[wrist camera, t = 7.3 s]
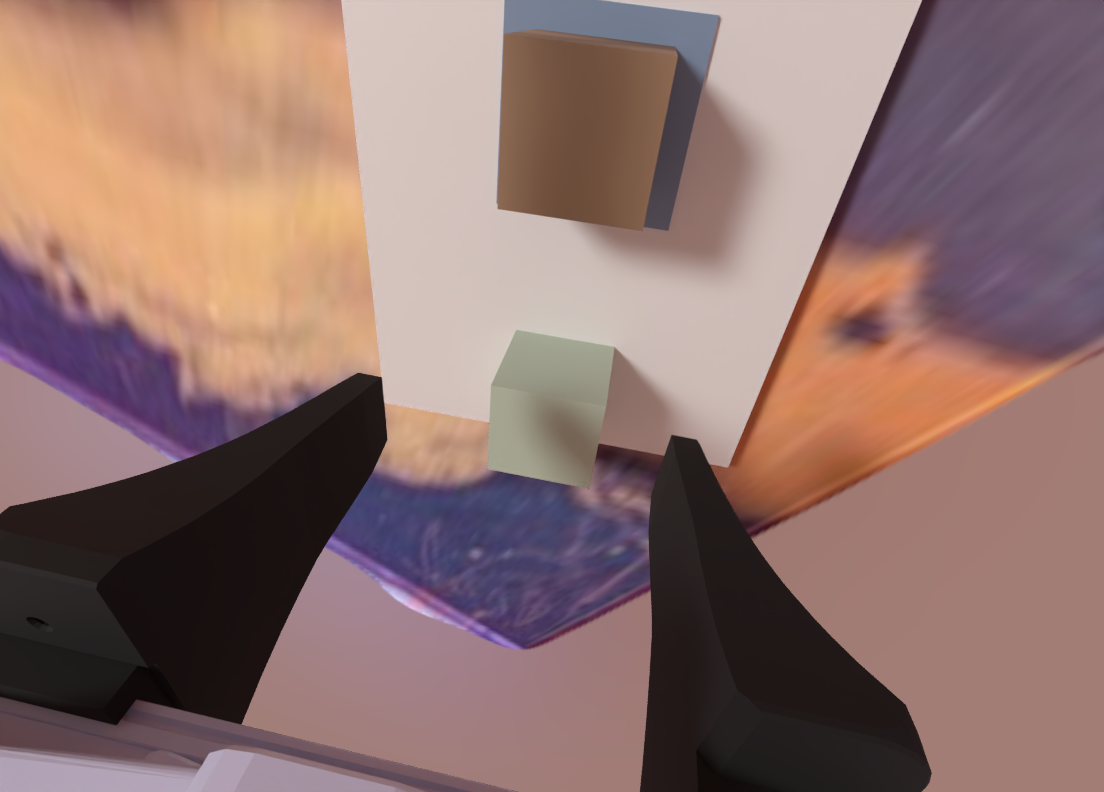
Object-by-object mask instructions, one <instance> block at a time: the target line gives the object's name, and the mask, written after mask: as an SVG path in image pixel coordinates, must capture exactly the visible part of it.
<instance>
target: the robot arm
mask: <svg viewBox="0 0 1104 792" xmlns="http://www.w3.org/2000/svg"><path fill="white" fill-rule="evenodd" d="M386 442H387V430H386V418H385V406H384V395H383V383H382V377H377V376H372V375H367V374H362V373H357V374H355V375H353V376H351V377H350V378H348V379H346V380H344V381H342V382H341V383H339V384H337V385H336V386H334V387H332V388H330V389H329V390H327V391H325V392H323V393H322V394H320V395H318V396H317V397H315V398H313V399H311V400H309V401H308V402H306V403H304V404H302V405H301V406H299V407H297V408H295V409H294V410H292V411H290V412H288V413H286V414H284V415H282V416H281V417H279V418H277V419H275V420H273V421H271V422H269V423H267V424H265V425H263V426H261V427H259V428H257V429H255V430H253V431H251V432H249V433H247V434H245V435H243V436H241V437H239V438H236V439H234V440H232V441H230V442H227V443H225V444H223V445H220V446H218V447H215V448H213V449H211V450H208V451H206V452H203V453H201V454H198V455H196V456H193V457H190V458H187V459H184V460H182V461H179V462H176V463H173V464H170V465H168V466H165V467H161V468H159V469H156V470H153V471H150V472H147V473H144V474H140V475H137V476H134V477H130V478H127V479H124V480H120V481H117V482H113V483H109V484H106V485H102V486H98V487H95V488H91V489H87V490H83V491H79V492H75V493H70V494H66V495H61V496H56V497H52V498H47V499H43V500H38V501H34V502H29V503H25V504H20V505H15V506H10V507H8V508H7V509H6V510H5V511H3V512H2V513H1V514H0V792H517V791H513V790H508V789H504V788H500V787H496V786H492V785H488V784H484V783H480V782H476V781H471V780H467V779H463V778H459V777H455V776H451V775H447V774H443V773H438V772H434V771H430V770H426V769H422V768H418V767H414V766H409V765H405V764H401V763H397V762H393V761H389V760H384V759H380V758H376V757H372V756H368V755H364V754H360V753H356V752H352V751H348V750H343V749H339V748H335V747H331V746H327V745H323V744H319V743H314V742H310V741H306V740H302V739H298V738H294V737H290V736H286V735H282V734H277V733H273V732H269V731H265V730H261V729H257V728H253V727H248V726H244V725H241V724H242V722H243V719H244V717H245V714H246V712H247V710H248V707H249V705H250V702H251V700H252V697H253V695H254V692H255V690H256V688H257V685H258V683H259V680H260V678H261V676H262V673H263V671H264V669H265V667H266V664H267V662H268V660H269V658H270V655H271V653H272V651H273V649H274V646H275V644H276V642H277V640H278V637H279V635H280V633H281V631H282V629H283V627H284V625H285V623H286V620H287V618H288V616H289V614H290V612H291V610H292V608H293V606H294V604H295V602H296V600H297V597H298V595H299V593H300V591H301V589H302V588H303V586H304V584H305V582H306V580H307V577H308V576H309V574H310V572H311V570H312V568H313V566H314V564H315V562H316V560H317V558H318V557H319V555H320V553H321V552H322V550H323V548H324V547H325V545H326V543H327V542H328V540H329V539H330V537H331V536H332V534H333V533H334V531H335V530H336V528H337V526H338V525H339V523H340V522H341V520H342V519H343V517H344V516H345V514H346V513H347V511H348V510H349V508H350V507H351V505H352V503H353V502H354V500H355V499H356V497H357V496H358V494H359V493H360V491H361V490H362V488H363V486H364V485H365V483H366V482H367V480H368V478H369V477H370V475H371V474H372V472H373V470H374V468H375V465H376V463H377V461H378V459H379V457H380V455H381V453H382V450H383V448H384V446H385V444H386ZM649 558H650V582H651V605H652V642H651V661H650V676H649V691H648V705H647V718H646V731H645V742H644V755H643V767H642V776H641V787H640V792H922V791H923V790H924V789H925V788H926V786H927V785H928V784H929V781H930V777H931V769H930V767H929V764H928V761H927V758H926V755H925V753H924V750H923V746H922V743H921V741H920V738H919V735H918V732H917V730H916V727H915V725H914V723H913V721H912V719H911V716H910V714H909V712H908V709H907V707H906V705H905V704H904V703H903V702H902V701H901V700H900V699H898V698H897V697H896V696H895V695H894V694H893V693H891V691H889V690H888V689H887V688H886V687H885V686H884V685H883V684H881V683H880V682H879V681H878V680H877V679H876V678H875V677H874V676H872V675H871V674H870V673H869V672H868V671H867V670H865V668H863V667H862V666H861V665H860V664H859V663H858V662H857V661H856V660H855V659H854V658H853V657H852V656H850V654H849V653H847V651H845V650H844V648H842V647H841V646H840V645H839V644H838V643H837V642H836V641H835V640H834V639H833V638H832V637H831V636H830V635H829V634H828V633H827V632H826V630H825V629H823V627H822V626H821V625H820V624H819V623H818V622H817V621H816V620H815V619H814V618H813V617H812V616H811V615H810V613H809V612H808V611H807V610H806V609H805V608H804V606H803V605H802V604H801V603H800V602H799V601H798V600H797V599H796V597H795V596H794V595H793V594H792V593H791V592H790V590H789V589H788V588H787V587H786V586H785V584H783V582H782V581H781V580H780V578H779V577H778V576H777V575H776V573H775V572H774V570H773V569H772V568H771V567H770V565H769V564H768V562H767V561H766V560H765V558H764V557H763V556H762V554H761V553H760V551H759V550H758V548H757V547H756V545H755V544H754V542H753V541H752V539H751V538H750V536H749V535H748V533H747V532H746V530H745V528H744V527H743V525H742V524H741V522H740V520H739V519H738V517H737V515H736V514H735V512H734V510H733V508H732V507H731V505H730V503H729V501H728V499H727V498H726V496H725V494H724V492H723V490H722V488H721V487H720V485H719V483H718V481H717V479H716V477H715V475H714V473H713V471H712V469H711V467H710V465H709V463H708V461H707V458H706V456H705V454H704V452H703V450H702V448H701V445H700V444H699V442H698V441H697V440H696V439H691V438H686V437H681V436H676V435H671V437H670V440H669V443H668V446H667V449H666V452H665V455H664V458H663V461H662V464H661V467H660V470H659V473H658V476H657V479H656V482H655V485H654V488H653V491H652V495H651V507H650V519H649Z"/></svg>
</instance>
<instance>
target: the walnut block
mask: <svg viewBox="0 0 1104 792" xmlns="http://www.w3.org/2000/svg"><path fill="white" fill-rule="evenodd" d="M677 59H678V54H677V52H676V49H675V47H674V46H666V45H658V44H650V43H642V42H634V41H626V40H619V39H611V38H603V37H595V36H587V35H579V34H571V33H563V32H556V31H548V30H540V29H534V30H526V31H519V32H512V33H505V34H504V44H503V71H502V98H501V125H500V152H499V179H498V206H497V209H501V210H507V211H514V212H520V213H527V214H533V215H540V216H546V217H553V218H559V219H566V220H572V221H579V222H585V223H592V224H598V225H605V226H611V227H618V228H624V229H631V230H637V231H643V227H644V222H645V217H646V212H647V207H648V202H649V197H650V192H651V187H652V182H653V177H654V172H655V167H656V163H657V158H658V153H659V148H660V143H661V138H662V133H663V128H664V123H665V118H666V113H667V108H668V103H669V98H670V93H671V88H672V83H673V78H674V74H675V69H676V64H677Z"/></svg>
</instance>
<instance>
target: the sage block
mask: <svg viewBox="0 0 1104 792" xmlns="http://www.w3.org/2000/svg"><path fill="white" fill-rule="evenodd" d="M614 348H615V347H612V346H607V345H601V344H595V343H589V342H584V341H578V340H572V339H567V338H561V337H555V336H549V335H544V334H538V333H532V332H527V331H521V330H516V332H515V334H514V336H513V338H512V340H511V342H510V345H509V347H508V349H507V351H506V353H505V356H504V358H503V360H502V362H501V364H500V367H499V369H498V371H497V373H496V375H495V377H494V380H493V382H492V384H491V395H490V418H489V442H488V465H487V469H491V470H496V471H501V472H506V473H511V474H516V475H521V476H526V477H532V478H537V479H542V480H547V481H552V482H557V483H562V484H567V485H573V486H578V487H583V488H588V489H589V487H590V482H591V478H592V473H593V468H594V463H595V458H596V453H597V449H598V444H599V439H600V434H601V429H602V424H603V420H604V415H605V410H606V404H607V397H608V390H609V383H610V376H611V369H612V362H613V355H614Z"/></svg>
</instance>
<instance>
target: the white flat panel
mask: <svg viewBox="0 0 1104 792" xmlns="http://www.w3.org/2000/svg"><path fill="white" fill-rule="evenodd" d="M341 1H342V11H343V20H344V29H345V39H346V48H347V58H348V67H349V76H350V86H351V95H352V105H353V114H354V123H355V133H356V142H357V152H358V161H359V170H360V180H361V189H362V199H363V208H364V217H365V227H366V236H367V246H368V255H369V264H370V274H371V283H372V293H373V302H374V311H375V321H376V330H377V340H378V349H379V358H380V368H381V377H382V383H383V395H384V403H388V404H393V405H398V406H404V407H409V408H414V409H420V410H425V411H430V412H435V413H441V414H446V415H451V416H457V417H462V418H467V419H473V420H478V421H483V422H488V423H489V418H490V395H491V384H492V382H493V380H494V377H495V375H496V373H497V371H498V369H499V367H500V364H501V362H502V360H503V358H504V356H505V353H506V351H507V349H508V347H509V345H510V342H511V340H512V338H513V336H514V334H515V332H516V330H521V331H527V332H532V333H538V334H544V335H549V336H555V337H561V338H567V339H572V340H578V341H584V342H589V343H595V344H601V345H607V346H612V347H615V348H614V355H613V362H612V369H611V376H610V383H609V390H608V397H607V404H606V410H605V415H604V420H603V424H602V429H601V434H600V439H599V443H600V444H605V445H610V446H616V447H621V448H626V449H632V450H637V451H642V452H648V453H653V454H658V455H663V456H664V455H665V452H666V449H667V446H668V443H669V440H670V437H671V435H676V436H681V437H686V438H691V439H696V440H697V441H698V442H699V444H700V445H701V448H702V450H703V452H704V454H705V456H706V458H707V461H708V463H709V464H711V465H717V466H722V467H727V468H728V467H729V464H730V462H731V459H732V457H733V455H734V452H735V450H736V447H737V445H738V442H739V440H740V438H741V435H742V433H743V430H744V428H745V426H746V423H747V421H748V418H749V416H750V414H751V411H752V409H753V406H754V404H755V402H756V399H757V397H758V394H759V392H760V390H761V387H762V385H763V382H764V380H765V377H766V375H767V373H768V370H769V368H770V365H771V363H772V361H773V358H774V356H775V353H776V351H777V349H778V346H779V344H780V341H781V339H782V337H783V334H784V332H785V329H786V327H787V324H788V322H789V320H790V317H791V315H792V312H793V310H794V308H795V305H796V303H797V300H798V298H799V296H800V293H801V291H802V288H803V286H804V284H805V281H806V279H807V276H808V274H809V271H810V269H811V267H812V264H813V262H814V259H815V257H816V255H817V252H818V250H819V247H820V245H821V243H822V240H823V238H824V235H825V233H826V231H827V228H828V226H829V223H830V221H831V218H832V216H833V214H834V211H835V209H836V206H837V204H838V202H839V199H840V197H841V194H842V192H843V190H844V187H845V185H846V182H847V180H848V178H849V175H850V173H851V170H852V168H853V165H854V163H855V161H856V158H857V156H858V153H859V151H860V149H861V146H862V144H863V141H864V139H865V137H866V134H867V132H868V129H869V127H870V125H871V122H872V120H873V117H874V115H875V113H876V110H877V108H878V105H879V103H880V100H881V98H882V96H883V93H884V91H885V88H886V86H887V84H888V81H889V79H890V76H891V74H892V72H893V69H894V67H895V64H896V62H897V60H898V57H899V55H900V52H901V50H902V47H903V45H904V43H905V40H906V38H907V35H908V33H909V31H910V28H911V26H912V23H913V21H914V19H915V16H916V14H917V11H918V9H919V7H920V4H921V2H922V0H341ZM534 29H540V30H548V31H556V32H563V33H571V34H579V35H587V36H595V37H603V38H611V39H619V40H626V41H634V42H642V43H650V44H658V45H666V46H674V47H675V49H676V52H677V54H678V59H677V64H676V69H675V74H674V78H673V83H672V88H671V93H670V98H669V103H668V108H667V113H666V118H665V123H664V128H663V133H662V138H661V143H660V148H659V153H658V158H657V163H656V167H655V172H654V177H653V182H652V187H651V192H650V197H649V202H648V207H647V212H646V217H645V222H644V227H643V231H637V230H631V229H624V228H618V227H611V226H605V225H598V224H592V223H585V222H579V221H572V220H566V219H559V218H553V217H546V216H540V215H533V214H527V213H520V212H514V211H507V210H501V209H497V206H498V179H499V152H500V125H501V98H502V71H503V44H504V34H505V33H512V32H519V31H526V30H534Z"/></svg>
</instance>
